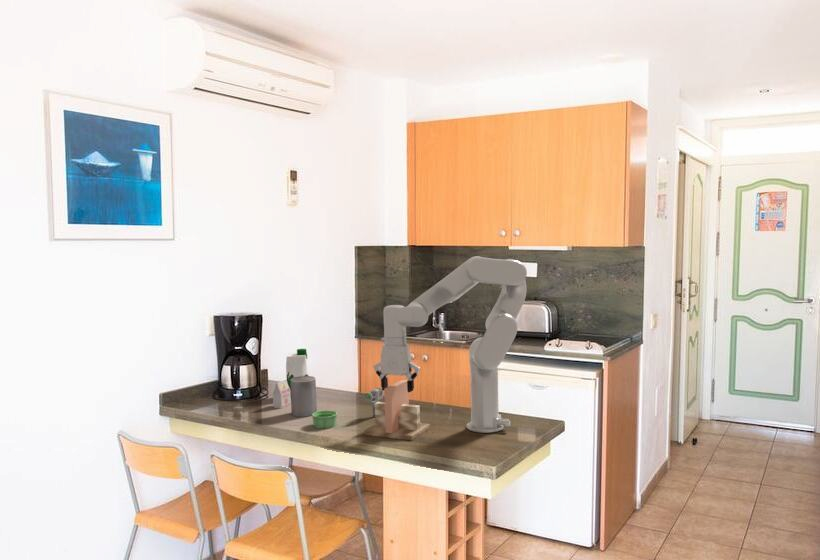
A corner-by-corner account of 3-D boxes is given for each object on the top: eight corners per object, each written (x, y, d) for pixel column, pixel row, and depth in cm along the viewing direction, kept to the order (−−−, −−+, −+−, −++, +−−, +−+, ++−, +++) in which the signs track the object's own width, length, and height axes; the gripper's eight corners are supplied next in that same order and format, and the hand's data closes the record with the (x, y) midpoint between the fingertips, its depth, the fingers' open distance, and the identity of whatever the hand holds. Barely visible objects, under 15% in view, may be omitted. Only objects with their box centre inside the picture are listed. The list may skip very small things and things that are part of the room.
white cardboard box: (273, 407, 276) (272, 383, 275) (283, 403, 282) (282, 379, 281) (281, 408, 275) (280, 383, 274) (290, 404, 281) (290, 380, 280)
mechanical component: (364, 419, 255) (363, 393, 254) (378, 413, 264) (377, 387, 263) (371, 420, 254) (370, 393, 253) (385, 413, 263) (384, 387, 262)
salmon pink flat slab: (392, 433, 232) (391, 389, 231) (385, 432, 233) (384, 388, 232) (409, 422, 245) (408, 380, 244) (402, 421, 246) (401, 379, 245)
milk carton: (308, 398, 290) (306, 351, 289) (286, 399, 289) (284, 351, 288) (309, 393, 299) (308, 347, 297) (288, 394, 298) (286, 348, 297)
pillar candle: (298, 409, 272) (296, 372, 271) (321, 410, 269) (319, 372, 268) (287, 416, 263) (285, 377, 261) (310, 417, 260) (309, 378, 259)
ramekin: (333, 429, 244) (333, 417, 244) (309, 428, 246) (308, 416, 245) (340, 422, 253) (340, 410, 252) (316, 421, 254) (316, 410, 254)
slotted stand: (430, 428, 242) (429, 401, 242) (412, 440, 229) (411, 412, 228) (384, 423, 250) (383, 397, 249) (364, 434, 236) (363, 407, 236)
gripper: (368, 342, 237) (370, 391, 239) (414, 344, 230) (416, 394, 231) (378, 338, 244) (380, 386, 245) (423, 340, 237) (425, 389, 238)
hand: (397, 390), depth 238 cm, fingers open, 9 cm apart
